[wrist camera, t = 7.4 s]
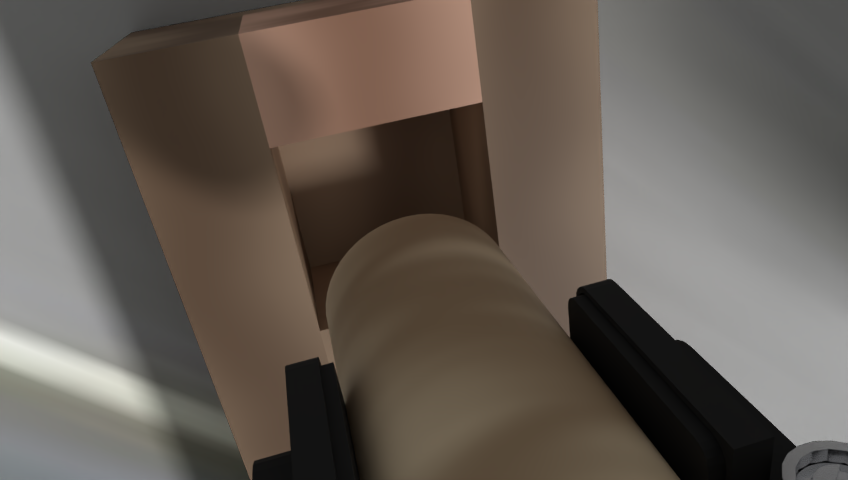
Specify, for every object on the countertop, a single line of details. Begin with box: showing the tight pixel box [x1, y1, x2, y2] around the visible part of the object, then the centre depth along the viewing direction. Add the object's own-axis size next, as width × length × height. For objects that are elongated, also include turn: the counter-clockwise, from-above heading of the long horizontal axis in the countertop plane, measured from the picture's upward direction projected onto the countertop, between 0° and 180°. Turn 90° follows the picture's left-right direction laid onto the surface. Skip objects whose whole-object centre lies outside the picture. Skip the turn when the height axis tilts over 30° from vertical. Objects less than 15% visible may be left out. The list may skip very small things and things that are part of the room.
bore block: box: [91, 0, 607, 480], centre depth 22 cm, size 12×22×5 cm, turn 9°
